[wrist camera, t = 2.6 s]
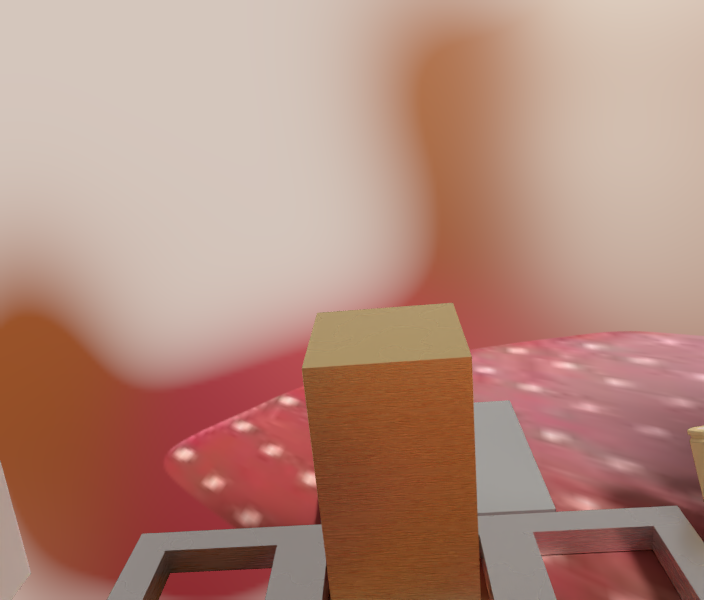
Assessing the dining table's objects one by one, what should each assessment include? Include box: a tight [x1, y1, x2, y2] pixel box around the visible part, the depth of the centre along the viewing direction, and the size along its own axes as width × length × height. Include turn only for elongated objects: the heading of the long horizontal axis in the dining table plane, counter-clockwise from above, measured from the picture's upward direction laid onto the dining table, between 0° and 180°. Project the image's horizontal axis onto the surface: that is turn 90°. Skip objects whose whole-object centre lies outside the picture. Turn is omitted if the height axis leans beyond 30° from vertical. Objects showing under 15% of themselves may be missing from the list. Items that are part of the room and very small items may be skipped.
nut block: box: [302, 303, 481, 600], centre depth 23 cm, size 5×5×12 cm
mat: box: [473, 400, 556, 516], centre depth 35 cm, size 11×11×1 cm
